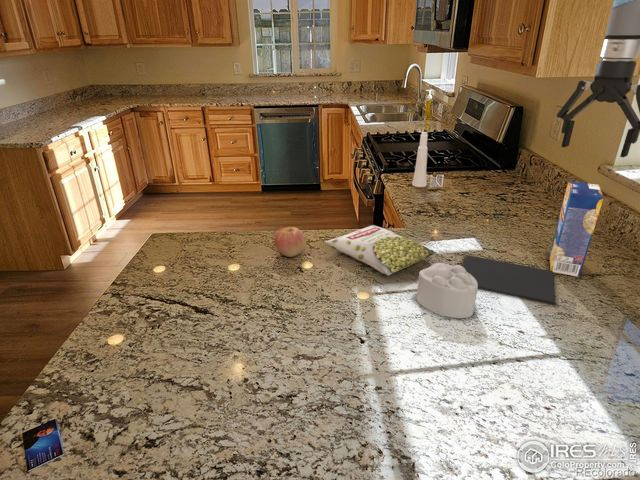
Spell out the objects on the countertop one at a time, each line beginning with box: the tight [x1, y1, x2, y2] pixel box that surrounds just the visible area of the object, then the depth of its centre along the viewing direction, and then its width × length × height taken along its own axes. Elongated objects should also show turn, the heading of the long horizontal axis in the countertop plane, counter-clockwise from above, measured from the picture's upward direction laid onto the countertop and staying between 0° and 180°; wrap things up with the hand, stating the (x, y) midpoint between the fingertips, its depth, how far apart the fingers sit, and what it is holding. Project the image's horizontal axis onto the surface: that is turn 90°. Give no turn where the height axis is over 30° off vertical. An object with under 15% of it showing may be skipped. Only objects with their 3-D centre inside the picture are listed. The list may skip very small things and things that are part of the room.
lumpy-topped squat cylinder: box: [416, 262, 479, 319], centre depth 99 cm, size 10×13×9 cm
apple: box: [273, 226, 306, 258], centre depth 122 cm, size 9×9×8 cm
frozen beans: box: [324, 224, 437, 276], centre depth 121 cm, size 21×6×25 cm
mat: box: [462, 254, 555, 305], centre depth 111 cm, size 22×16×1 cm
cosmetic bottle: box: [411, 131, 429, 188], centre depth 174 cm, size 6×6×22 cm
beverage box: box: [549, 180, 604, 278], centre depth 112 cm, size 7×11×22 cm, turn 155°
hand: (593, 151), depth 107 cm, fingers open, 13 cm apart
